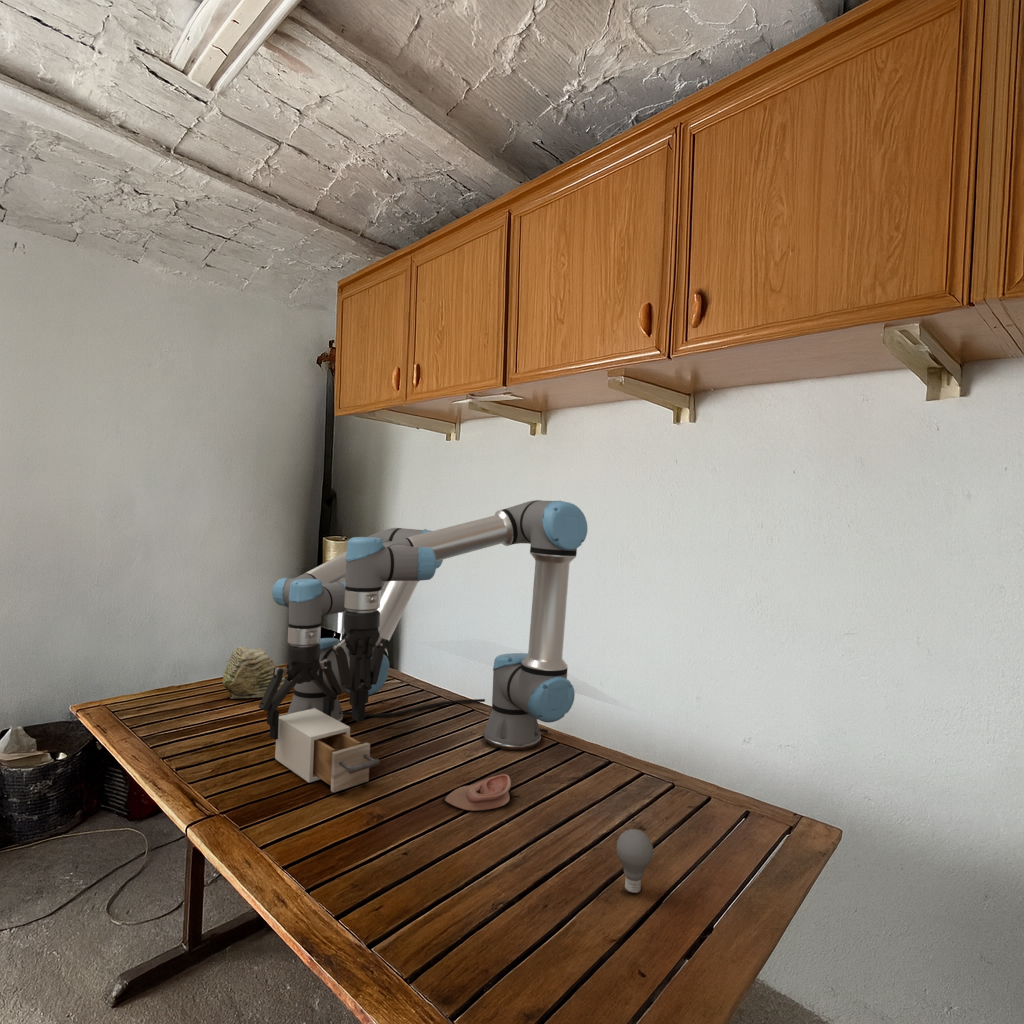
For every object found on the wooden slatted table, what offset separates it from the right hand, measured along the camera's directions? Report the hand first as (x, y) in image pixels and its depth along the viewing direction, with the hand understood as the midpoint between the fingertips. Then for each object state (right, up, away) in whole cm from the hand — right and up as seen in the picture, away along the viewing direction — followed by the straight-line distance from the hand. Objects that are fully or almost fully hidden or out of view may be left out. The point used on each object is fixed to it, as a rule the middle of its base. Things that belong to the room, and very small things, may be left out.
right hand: (358, 719), depth 135 cm
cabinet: (-14, -15, +14) cm, 25 cm away
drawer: (-5, -15, +5) cm, 17 cm away
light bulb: (+53, -19, -30) cm, 64 cm away
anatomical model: (+26, -17, 0) cm, 31 cm away
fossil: (-48, -13, +62) cm, 80 cm away
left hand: (-18, -9, +18) cm, 27 cm away
